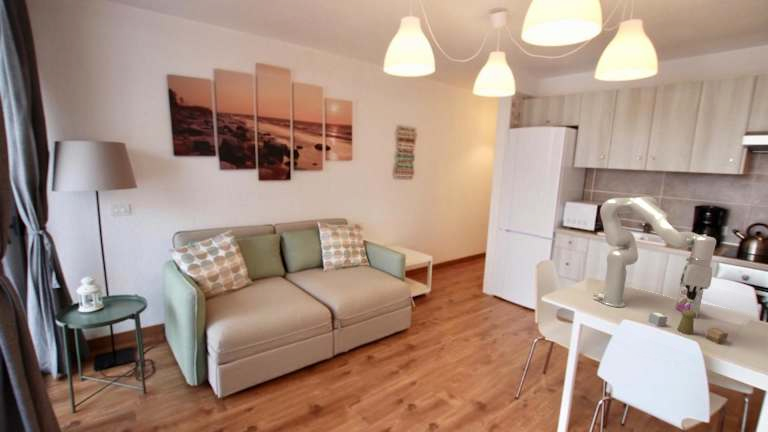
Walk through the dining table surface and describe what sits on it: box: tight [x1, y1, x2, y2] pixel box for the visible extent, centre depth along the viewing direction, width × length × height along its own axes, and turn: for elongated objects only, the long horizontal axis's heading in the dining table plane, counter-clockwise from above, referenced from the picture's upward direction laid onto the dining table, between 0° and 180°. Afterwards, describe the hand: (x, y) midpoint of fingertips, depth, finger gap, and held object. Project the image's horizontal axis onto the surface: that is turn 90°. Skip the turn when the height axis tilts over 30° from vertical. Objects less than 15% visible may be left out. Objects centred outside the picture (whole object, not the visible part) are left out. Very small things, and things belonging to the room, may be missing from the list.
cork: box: [676, 310, 696, 336], centre depth 171 cm, size 6×6×11 cm
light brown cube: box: [705, 327, 729, 345], centre depth 164 cm, size 5×5×5 cm
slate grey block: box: [647, 311, 668, 327], centre depth 179 cm, size 5×5×5 cm
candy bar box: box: [675, 284, 705, 319], centre depth 192 cm, size 11×5×16 cm, turn 168°
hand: (690, 298), depth 170 cm, fingers closed
